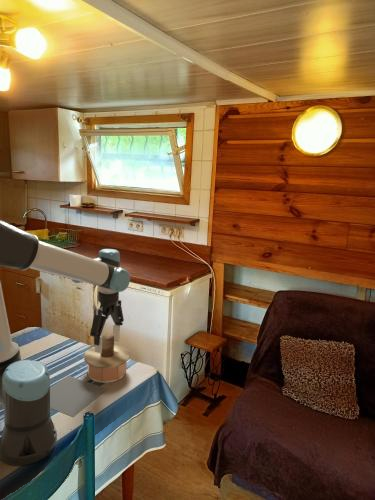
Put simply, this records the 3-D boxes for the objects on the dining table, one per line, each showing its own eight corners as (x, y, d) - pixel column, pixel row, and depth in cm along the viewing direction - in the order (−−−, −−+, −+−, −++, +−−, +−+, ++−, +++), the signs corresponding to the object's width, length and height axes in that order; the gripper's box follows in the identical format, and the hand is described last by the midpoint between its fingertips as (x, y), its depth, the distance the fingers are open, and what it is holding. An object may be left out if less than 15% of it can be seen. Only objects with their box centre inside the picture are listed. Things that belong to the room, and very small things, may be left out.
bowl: (111, 387, 135) (111, 369, 133) (80, 376, 140) (80, 359, 139) (131, 370, 147) (132, 353, 146) (103, 361, 153) (103, 345, 151)
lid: (112, 372, 131) (113, 351, 130) (74, 360, 138) (74, 340, 136) (137, 353, 146) (138, 334, 145) (102, 343, 153) (102, 325, 152)
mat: (73, 418, 117) (73, 417, 116) (30, 401, 124) (30, 400, 123) (107, 390, 133) (107, 389, 133) (68, 376, 140) (68, 375, 140)
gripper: (97, 301, 125) (96, 361, 129) (134, 285, 146) (132, 337, 150) (79, 297, 128) (79, 356, 132) (118, 282, 149) (116, 333, 153)
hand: (107, 346), depth 141 cm, fingers open, 10 cm apart
